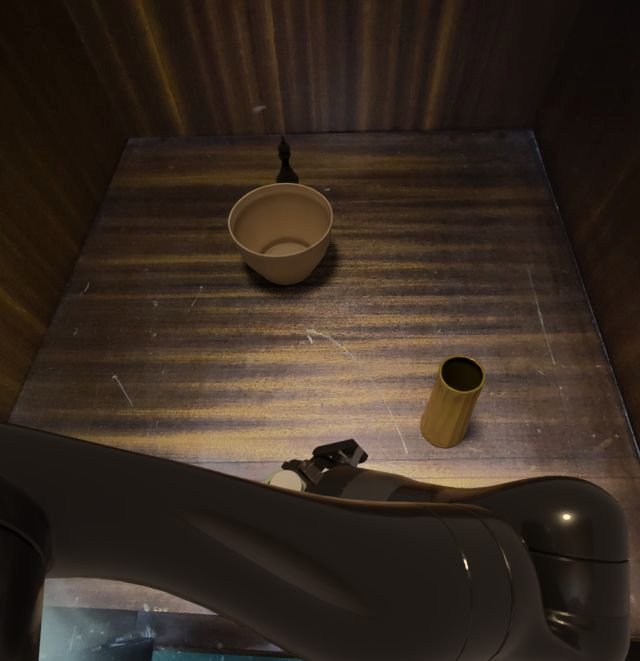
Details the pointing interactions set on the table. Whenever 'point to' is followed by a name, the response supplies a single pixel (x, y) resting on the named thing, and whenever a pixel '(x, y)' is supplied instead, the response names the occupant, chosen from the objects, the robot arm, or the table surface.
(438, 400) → the vase
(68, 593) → the table surface
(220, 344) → the table surface
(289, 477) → the pill bottle
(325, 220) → the planter bowl
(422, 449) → the table surface
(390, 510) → the robot arm
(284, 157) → the chess piece
